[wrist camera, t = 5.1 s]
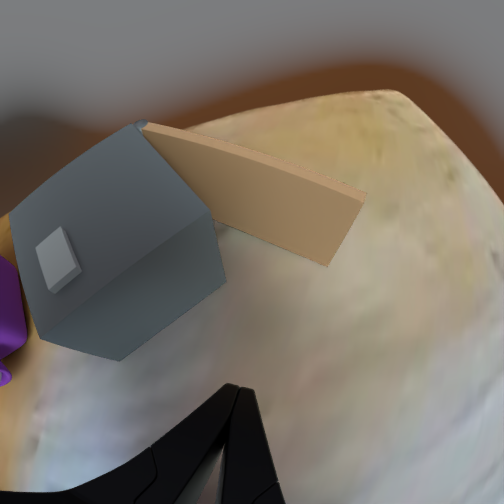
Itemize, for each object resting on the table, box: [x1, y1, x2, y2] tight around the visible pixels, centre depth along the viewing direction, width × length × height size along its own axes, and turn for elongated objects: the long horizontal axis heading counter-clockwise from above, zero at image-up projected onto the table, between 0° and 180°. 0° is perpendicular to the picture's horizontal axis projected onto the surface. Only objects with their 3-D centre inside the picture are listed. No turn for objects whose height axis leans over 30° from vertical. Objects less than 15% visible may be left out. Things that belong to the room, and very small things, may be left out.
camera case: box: [9, 124, 226, 361], centre depth 18 cm, size 11×11×11 cm
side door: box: [133, 119, 367, 267], centre depth 21 cm, size 17×2×9 cm, turn 65°
